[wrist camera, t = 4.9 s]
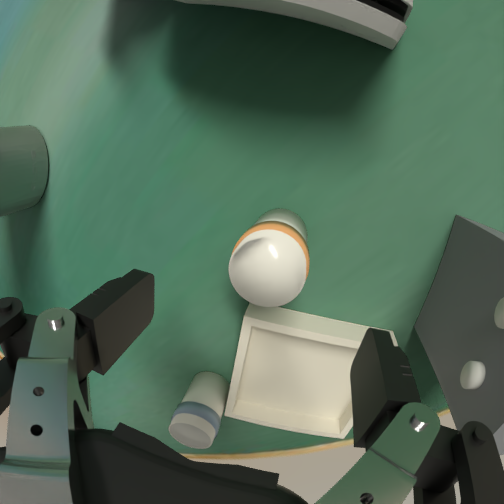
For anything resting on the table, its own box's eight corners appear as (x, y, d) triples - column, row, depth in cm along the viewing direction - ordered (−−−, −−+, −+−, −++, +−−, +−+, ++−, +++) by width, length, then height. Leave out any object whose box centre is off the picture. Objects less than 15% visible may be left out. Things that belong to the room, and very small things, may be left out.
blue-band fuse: (190, 392, 29) (166, 439, 22) (193, 364, 28) (167, 414, 21) (228, 404, 29) (210, 454, 22) (235, 377, 27) (216, 431, 21)
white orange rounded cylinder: (246, 255, 23) (221, 298, 16) (256, 200, 21) (232, 223, 15) (301, 268, 22) (297, 317, 16) (315, 213, 21) (318, 243, 14)
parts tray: (230, 398, 28) (224, 415, 26) (250, 300, 24) (243, 315, 22) (343, 421, 27) (343, 438, 25) (392, 331, 22) (399, 348, 20)
